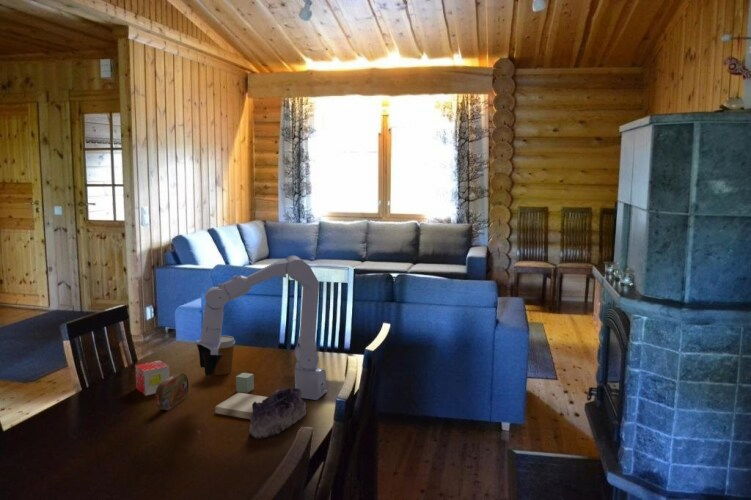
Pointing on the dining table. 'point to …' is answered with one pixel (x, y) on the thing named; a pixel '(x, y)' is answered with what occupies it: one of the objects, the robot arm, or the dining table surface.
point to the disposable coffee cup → (225, 355)
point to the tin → (171, 391)
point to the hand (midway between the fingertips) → (206, 371)
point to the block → (244, 382)
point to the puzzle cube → (150, 376)
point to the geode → (276, 413)
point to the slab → (239, 405)
